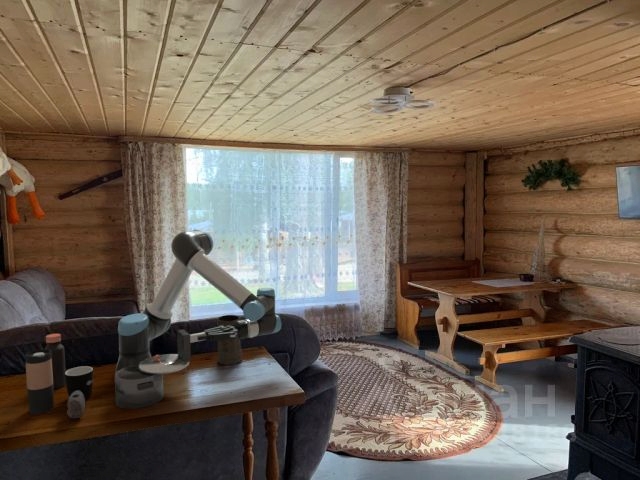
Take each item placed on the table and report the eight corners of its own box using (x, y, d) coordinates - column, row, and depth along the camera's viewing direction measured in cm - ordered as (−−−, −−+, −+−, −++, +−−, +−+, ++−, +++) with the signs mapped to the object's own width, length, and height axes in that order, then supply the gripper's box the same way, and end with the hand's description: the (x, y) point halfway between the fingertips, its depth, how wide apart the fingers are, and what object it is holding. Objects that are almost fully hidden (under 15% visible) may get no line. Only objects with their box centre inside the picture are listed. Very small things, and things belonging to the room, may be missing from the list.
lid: (195, 367, 164) (194, 337, 163) (145, 378, 155) (144, 346, 154) (180, 353, 179) (180, 326, 178) (134, 363, 169) (132, 333, 168)
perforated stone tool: (70, 404, 158) (69, 385, 157) (87, 401, 160) (86, 383, 160) (65, 424, 144) (64, 403, 144) (84, 420, 147) (83, 400, 146)
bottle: (57, 381, 178) (54, 332, 176) (70, 383, 176) (67, 333, 174) (41, 388, 172) (38, 337, 170) (54, 390, 169) (51, 338, 168)
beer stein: (239, 365, 195) (238, 320, 193) (214, 365, 195) (213, 320, 193) (245, 353, 210) (245, 311, 208) (223, 353, 210) (222, 311, 208)
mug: (89, 402, 160) (87, 374, 159) (62, 404, 158) (60, 376, 157) (100, 388, 171) (99, 362, 171) (75, 389, 170) (73, 363, 169)
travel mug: (36, 404, 158) (32, 349, 156) (58, 404, 158) (55, 348, 157) (23, 415, 150) (19, 357, 148) (47, 414, 151) (44, 356, 149)
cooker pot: (170, 403, 159) (169, 375, 158) (121, 415, 150) (120, 386, 149) (155, 384, 175) (154, 359, 174) (111, 394, 166) (109, 367, 165)
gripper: (252, 341, 179) (194, 353, 166) (238, 333, 190) (183, 344, 176) (252, 323, 178) (193, 333, 165) (238, 316, 189) (182, 325, 176)
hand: (188, 339), depth 171 cm, fingers closed
